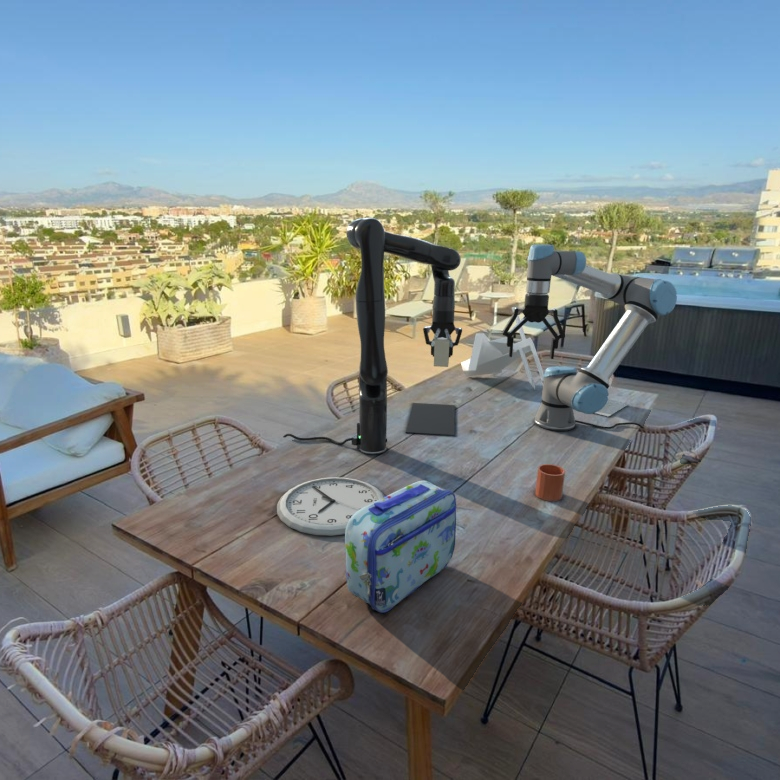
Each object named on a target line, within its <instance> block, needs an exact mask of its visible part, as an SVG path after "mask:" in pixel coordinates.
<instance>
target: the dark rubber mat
mask: <svg viewBox="0 0 780 780" xmlns="http://www.w3.org/2000/svg"><path fill="white" fill-rule="evenodd" d="M455 413H456V411H455V404H438V403H424V402H423V403H421V402H412V404H411V409H410V413H409V416H408V421H407V426H406V430H405V434H414V435H415V434H417V435H430V436H446V437H447V436H449V437H455V429H456V428H455V424H456V423H455V420H456V419H455V418H456V415H455Z"/></svg>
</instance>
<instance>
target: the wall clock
mask: <svg viewBox="0 0 780 780" xmlns="http://www.w3.org/2000/svg"><path fill="white" fill-rule="evenodd" d="M384 497H386V494H384V493H383V492H382V491H381V490H380V489H379V488H377V487H376V486H375V485H372V484H371V483H369V482H366V481H363V480H359V479H355V478H349V477H338V476H337V477H335V476H333V477H332V476H331V477H322V478H317V479H312V480H307V481H305V482H302V483H299V484H297V485H295V486H294V487H292V488H290V489H288V490H287V491H286V492H285V493H284V494H283V495H281V497H280V498H279V500H278V502H277V503H276V515H277V516H278V518H279V520H280V521H281V522H282V523H283V524H285V525H286V526H287V527H288V528H290V529H293V530H295V531H297V532H300V533H304V534H308V535H312V536H313V535H314V536H327V537H328V536H329V537H331V536H342V535H345V531H346V527H347V524H348V522H349V520H350V518H351V517H352V515H353V514H354V513H355V512H357V511H358V510H360V509H362V508H364V507H366V506H368V505H370V504H372V503H374V502H376V501H378V500H380V499H382V498H384Z"/></svg>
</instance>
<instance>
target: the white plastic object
mask: <svg viewBox="0 0 780 780" xmlns="http://www.w3.org/2000/svg"><path fill="white" fill-rule="evenodd" d="M515 307H516V306H512V307H511V311H512V313H513V312H514V308H515ZM520 321H521V318H520V315H517V318H516V319H515V323H516V325H517V324H518V323H519V322H520ZM518 333H519V336H520V338H521V340H520V341H518V342H515V343H514V342H513V351H512V357H509V349H510V347H507V336H504V337H500V338H496V339H490V338H488V336H487V335H486V334H485V333H484V332H476V333H475V335H474V336H475V337H474V341H473V345H472V348H471V349H472V350H471V354H470V358H468V359H466V360H464V361H462V362H460V364H461V369H462V372H463V374H464V375H465V376H466V377H475V376H484V375H493V376H495V375H498V374H502V373H503V371H502V370H504V369H505V368H507V367H508V366H509V365H511V364H513V363H514V362H516V360H518V359H519V358H520V359H521V361H522V364H523V367H524V370H525V373H526V377H527V379H528V382H529V384H530V386H531V387H532V388H533V389H534V390H536V384H535V380H534V377H533V375H532V374H533V373H532V372H531V368H530V365H529V363H528V358H527V355H526V354H528V353H530V352H531V353H532V356H533V359H534V362H535V365H536V368H537V371H538V374H539V377H540V381H541V382H542V383H543V381H544V374H545V371H544V369H543V366H542V364H541V361H540V358H539V355H538V352H537V349H536V346H535V343H534V341H533V339H532V338H531V337H528V338H527V337H526V334H525V331H524V328H523V326H522V327H521V328H520V329H519V330H518Z"/></svg>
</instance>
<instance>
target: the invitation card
mask: <svg viewBox="0 0 780 780" xmlns="http://www.w3.org/2000/svg"><path fill="white" fill-rule="evenodd" d="M627 406H628V404H627V403H623V402H618V401H614V400H609V399H608V401H607V403H606V405H605V406H604V407H603V408H602V409H601V410H599V411H598V412H596V413H594V415H595V414H596V415H600V416H603V417H608V418H609V417H611V416H612V415H614V414H616V413H617V412H619V411H620V410H622V409H624V408H625V407H627Z"/></svg>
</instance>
